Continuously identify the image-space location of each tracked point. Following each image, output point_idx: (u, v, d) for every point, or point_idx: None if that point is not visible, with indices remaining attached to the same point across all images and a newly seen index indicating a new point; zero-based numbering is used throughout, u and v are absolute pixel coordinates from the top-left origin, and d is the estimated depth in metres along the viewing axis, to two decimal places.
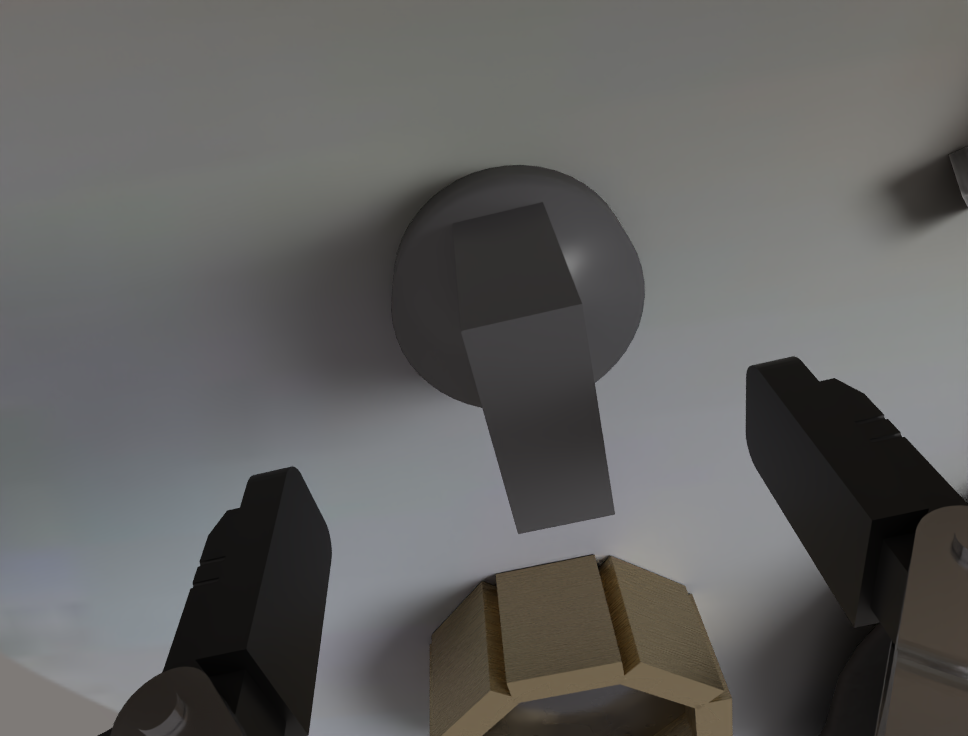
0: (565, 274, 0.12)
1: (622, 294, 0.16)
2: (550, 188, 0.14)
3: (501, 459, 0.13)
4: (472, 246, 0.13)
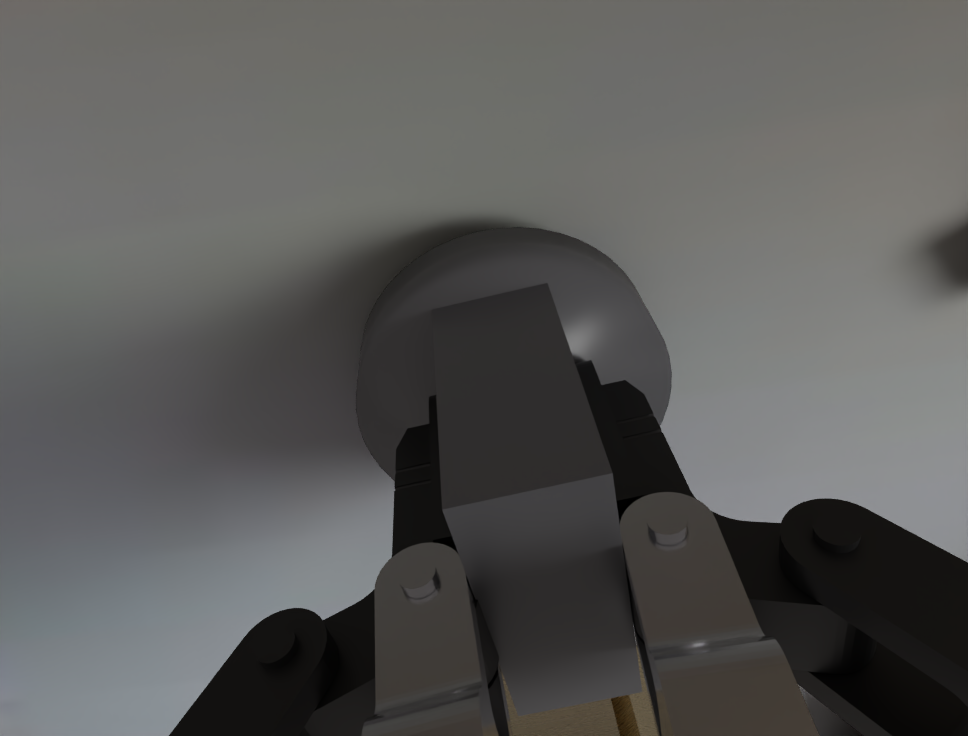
0: (584, 414, 0.09)
1: (644, 386, 0.13)
2: (557, 266, 0.11)
3: (497, 644, 0.09)
4: (457, 351, 0.10)
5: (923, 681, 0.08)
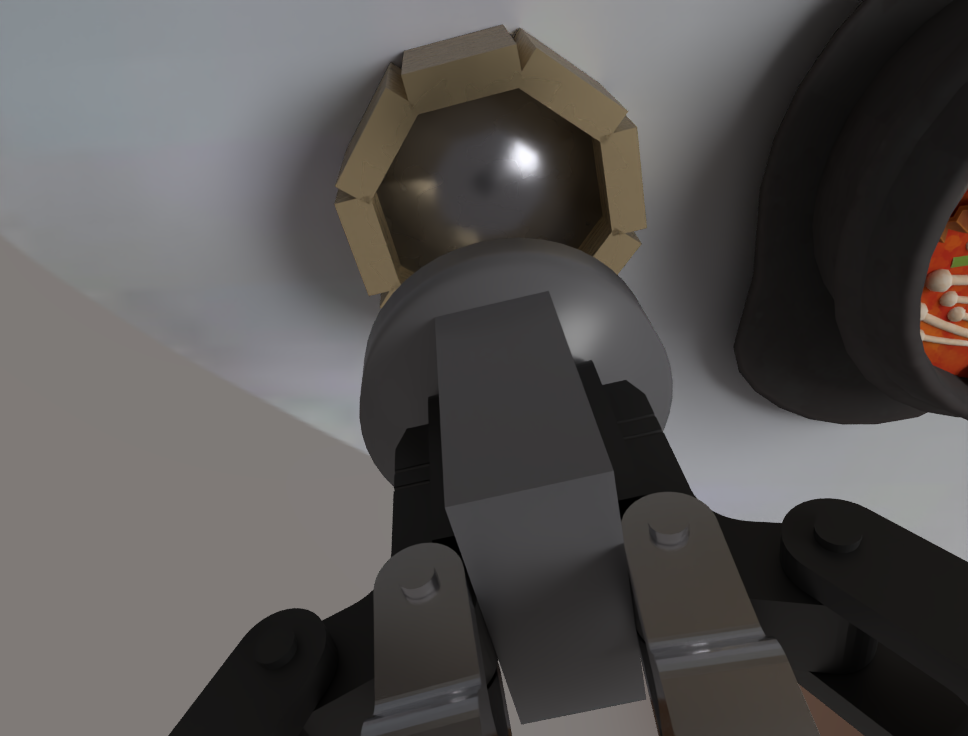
0: (586, 415, 0.09)
1: None
2: (558, 274, 0.11)
3: (500, 648, 0.09)
4: (460, 357, 0.10)
5: (924, 681, 0.08)
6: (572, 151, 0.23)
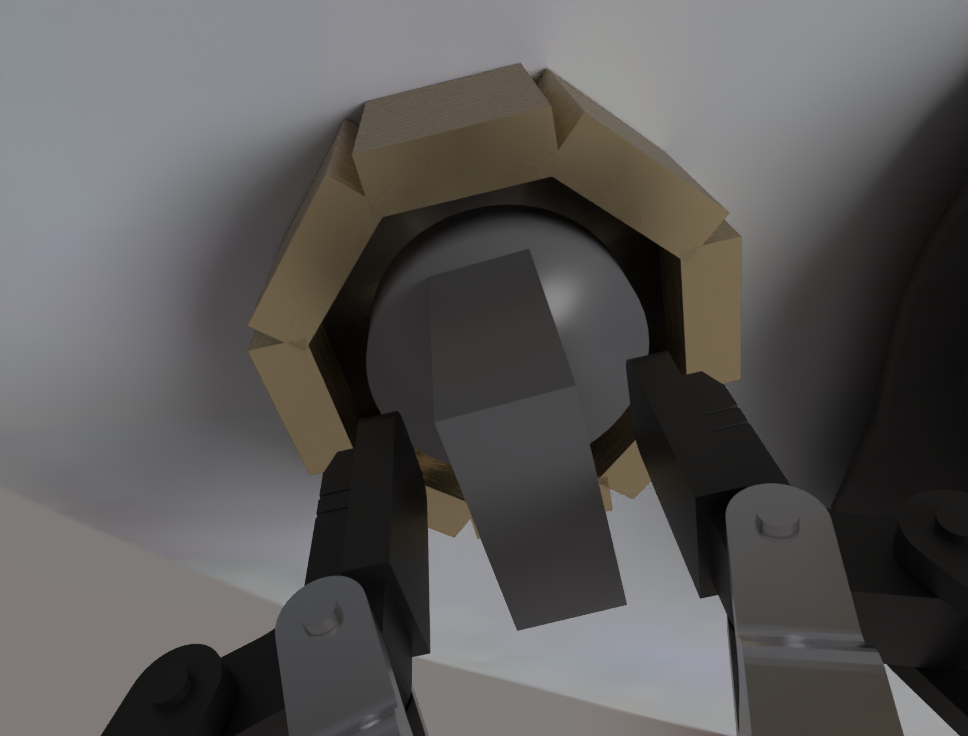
0: (555, 344, 0.10)
1: (624, 343, 0.14)
2: (536, 233, 0.13)
3: (492, 555, 0.11)
4: (450, 306, 0.12)
5: None
6: (627, 261, 0.15)
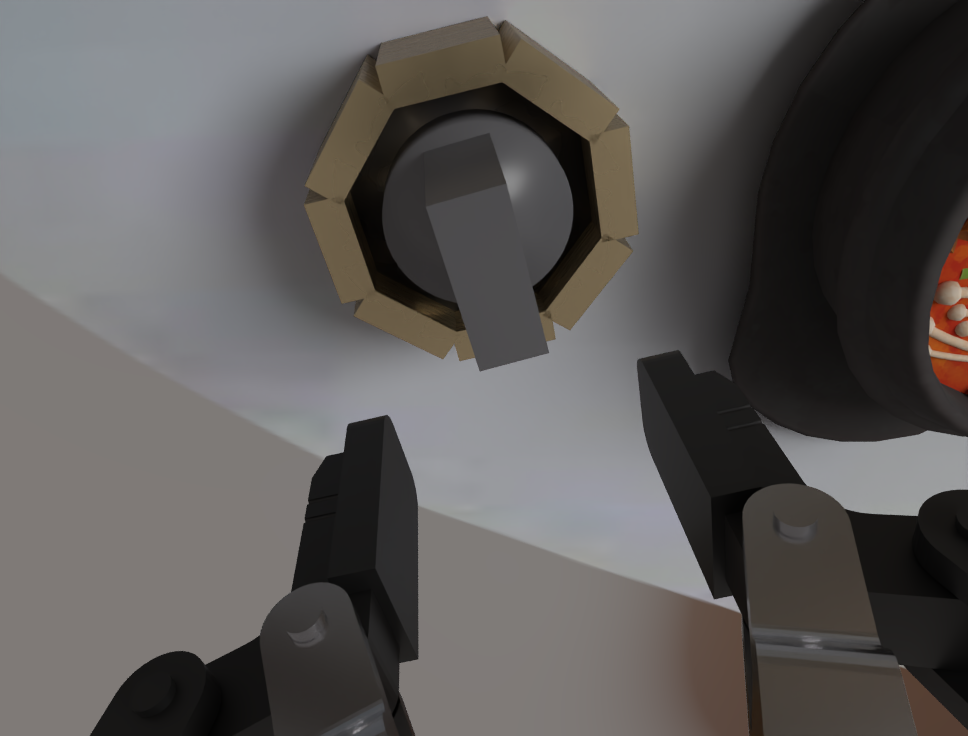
0: (498, 170, 0.17)
1: (555, 204, 0.21)
2: (494, 122, 0.20)
3: (462, 308, 0.18)
4: (436, 163, 0.19)
5: None
6: (560, 152, 0.22)
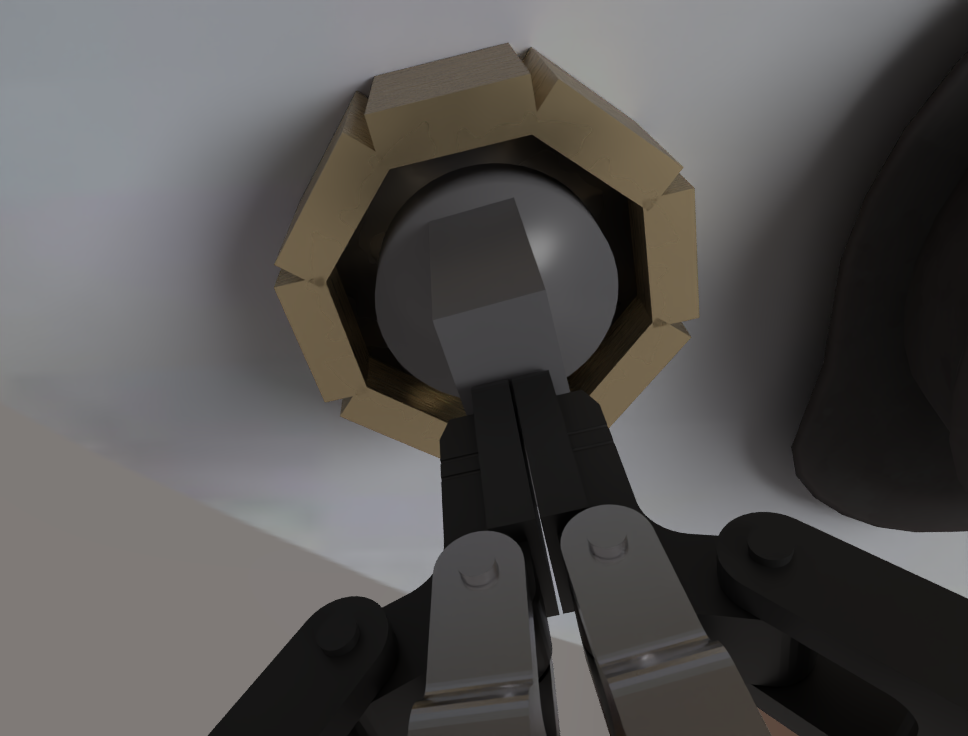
0: (531, 263, 0.12)
1: (596, 283, 0.17)
2: (520, 184, 0.15)
3: None
4: (446, 242, 0.14)
5: (863, 683, 0.08)
6: (600, 214, 0.17)
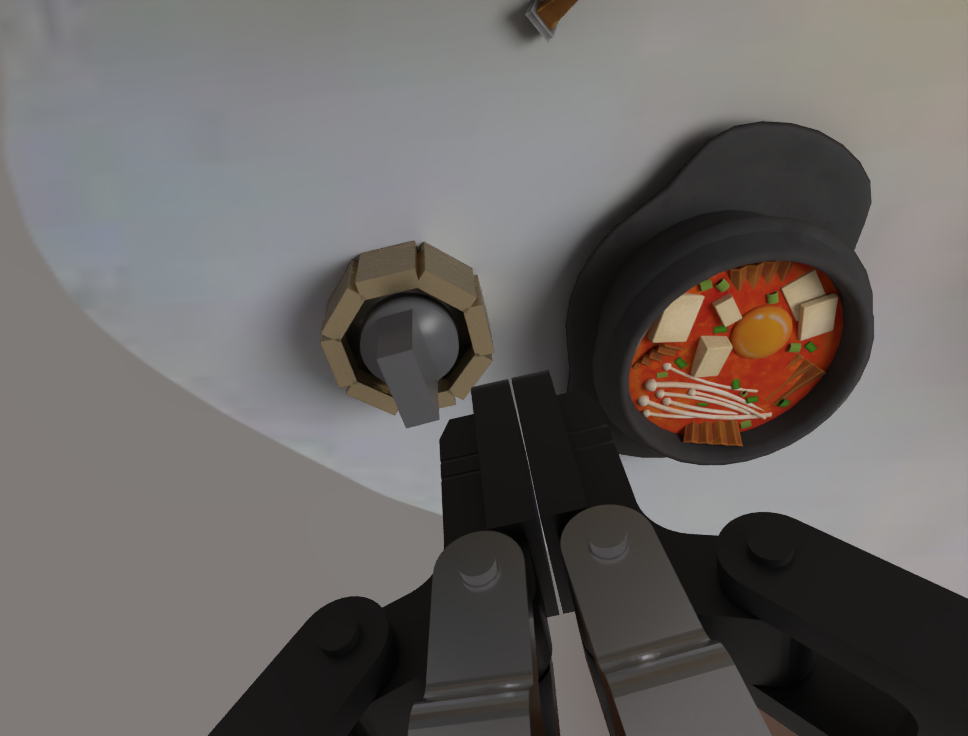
0: (410, 339, 0.37)
1: (449, 339, 0.41)
2: (414, 304, 0.40)
3: (395, 400, 0.38)
4: (385, 328, 0.39)
5: (863, 683, 0.08)
6: (453, 310, 0.42)
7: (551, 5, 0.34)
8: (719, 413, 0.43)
